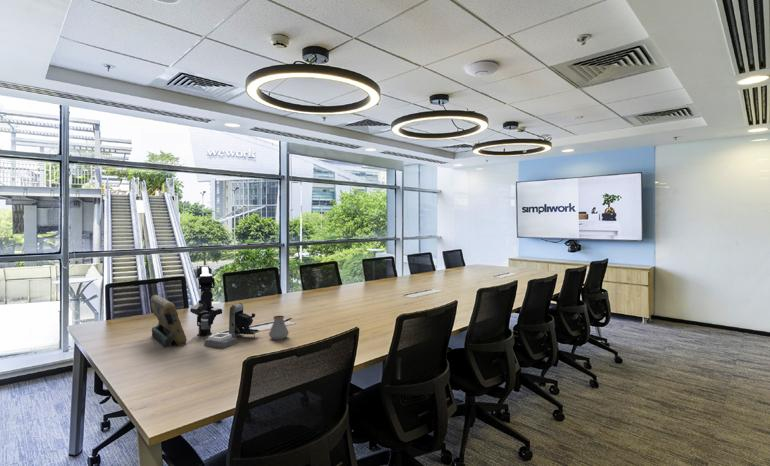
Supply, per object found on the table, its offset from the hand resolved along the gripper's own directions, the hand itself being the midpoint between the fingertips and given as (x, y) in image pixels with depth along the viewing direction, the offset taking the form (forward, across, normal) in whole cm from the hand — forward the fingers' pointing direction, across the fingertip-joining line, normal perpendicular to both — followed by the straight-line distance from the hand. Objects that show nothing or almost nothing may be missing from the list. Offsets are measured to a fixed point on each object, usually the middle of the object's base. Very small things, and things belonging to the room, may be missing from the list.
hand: (206, 325), depth 220 cm
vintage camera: (+12, +7, +22) cm, 26 cm away
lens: (+1, 0, 0) cm, 1 cm away
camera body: (+11, +4, +6) cm, 14 cm away
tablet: (+12, -29, -2) cm, 31 cm away
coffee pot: (+12, +31, +28) cm, 43 cm away
